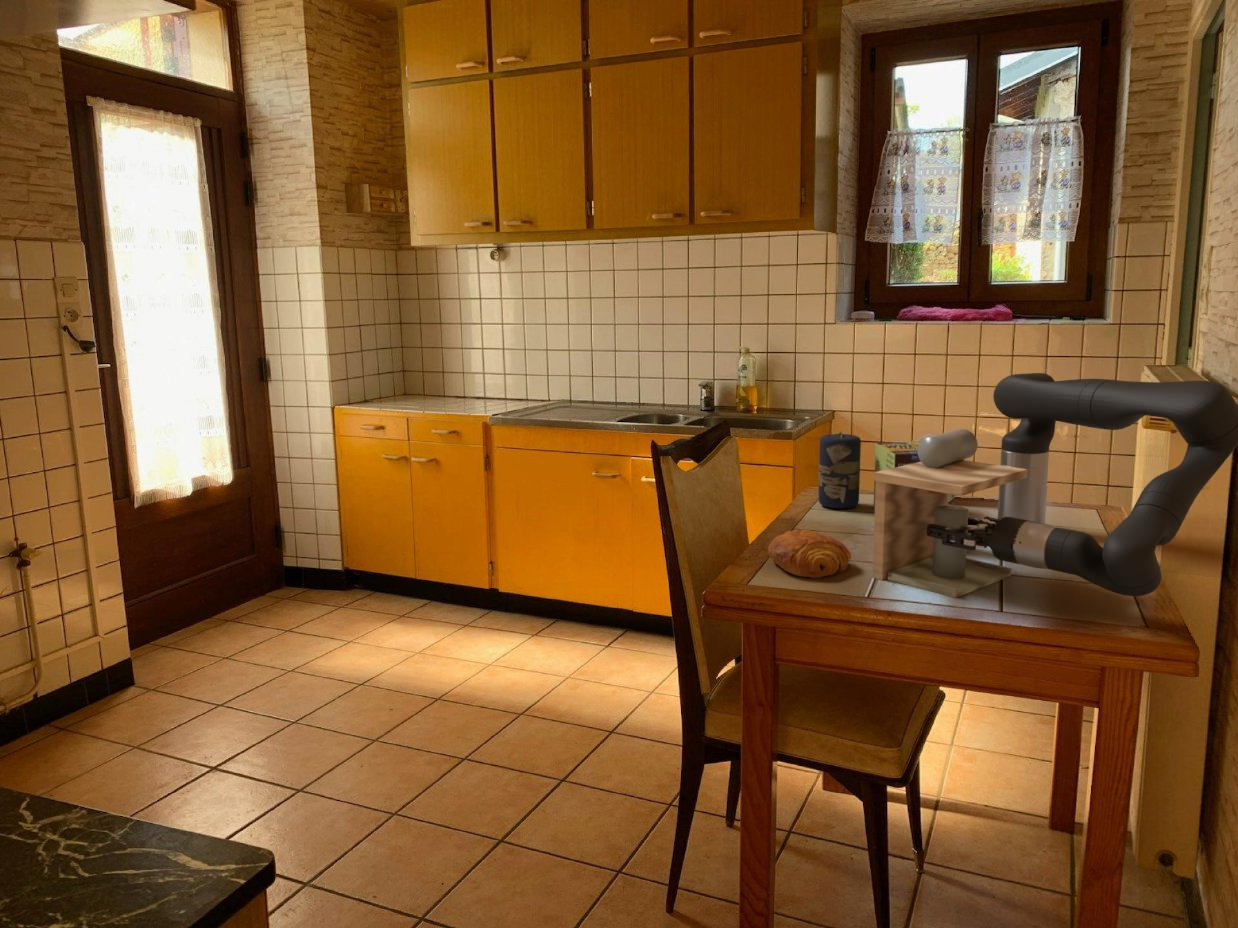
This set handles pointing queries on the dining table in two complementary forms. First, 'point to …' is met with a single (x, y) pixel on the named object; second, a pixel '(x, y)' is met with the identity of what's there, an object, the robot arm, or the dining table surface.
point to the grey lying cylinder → (947, 448)
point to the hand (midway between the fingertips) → (941, 525)
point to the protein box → (894, 456)
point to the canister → (839, 470)
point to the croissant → (809, 553)
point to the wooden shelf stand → (929, 522)
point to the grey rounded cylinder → (945, 557)
